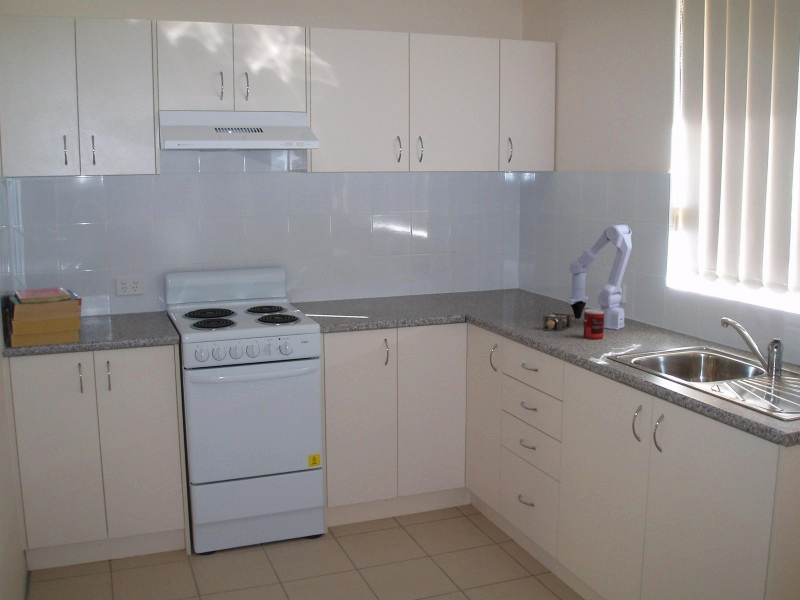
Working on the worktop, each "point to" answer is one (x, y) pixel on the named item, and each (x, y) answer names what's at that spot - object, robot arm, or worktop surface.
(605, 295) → the robot arm
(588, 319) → the canned food
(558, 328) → the firebox
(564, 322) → the tube
